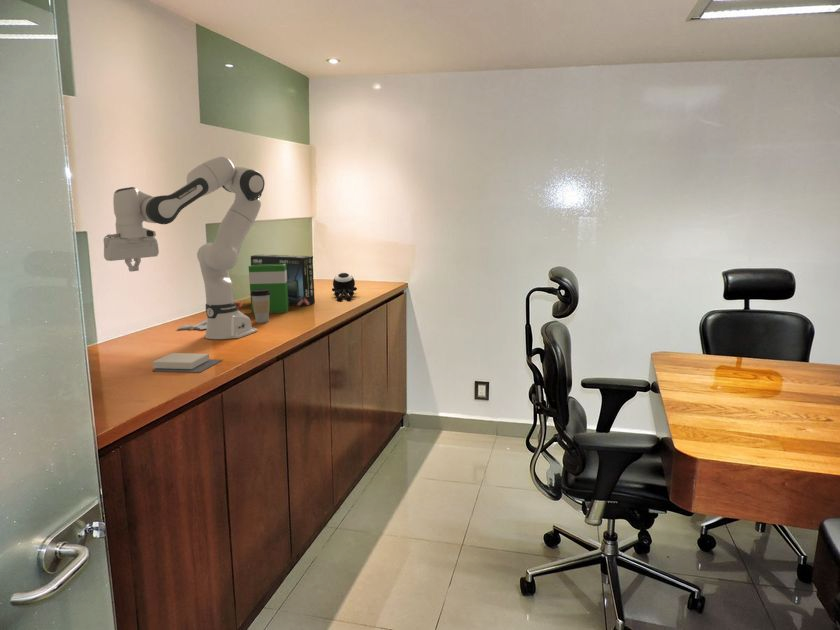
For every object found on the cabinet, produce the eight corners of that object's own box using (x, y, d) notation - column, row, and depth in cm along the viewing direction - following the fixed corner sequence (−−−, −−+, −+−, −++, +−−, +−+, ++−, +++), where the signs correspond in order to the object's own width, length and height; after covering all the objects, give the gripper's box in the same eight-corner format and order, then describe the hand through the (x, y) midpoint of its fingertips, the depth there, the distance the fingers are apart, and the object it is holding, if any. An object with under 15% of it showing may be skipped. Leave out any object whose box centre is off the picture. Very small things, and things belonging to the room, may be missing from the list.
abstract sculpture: (330, 290, 336) (330, 265, 363) (331, 319, 345) (332, 292, 373) (357, 289, 337) (355, 264, 365) (358, 318, 347) (357, 291, 374)
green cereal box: (251, 313, 308) (248, 266, 303) (254, 310, 315) (251, 264, 310) (286, 312, 309) (284, 265, 304) (288, 309, 316) (286, 263, 312)
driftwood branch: (205, 318, 297) (205, 314, 296) (232, 319, 295) (232, 314, 295) (174, 331, 268) (174, 326, 267) (204, 332, 266) (204, 326, 266)
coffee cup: (257, 324, 278) (255, 292, 275) (248, 321, 285) (246, 290, 282) (276, 321, 284) (274, 290, 281) (266, 319, 291) (264, 288, 288)
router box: (251, 303, 339) (248, 255, 334) (264, 300, 349) (261, 253, 344) (305, 306, 325) (302, 256, 320) (316, 303, 335) (314, 255, 330)
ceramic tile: (152, 361, 203) (191, 362, 201) (172, 353, 215) (208, 353, 213) (153, 368, 204) (191, 369, 202) (172, 359, 216) (209, 360, 213)
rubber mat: (152, 371, 202) (152, 370, 202) (178, 359, 217) (178, 358, 217) (199, 372, 199) (199, 371, 199) (222, 360, 215) (222, 359, 215)
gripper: (108, 234, 208) (113, 274, 211) (159, 231, 226) (163, 268, 228) (97, 234, 211) (102, 273, 214) (148, 231, 229) (151, 268, 231)
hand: (133, 271), depth 221 cm, fingers closed
